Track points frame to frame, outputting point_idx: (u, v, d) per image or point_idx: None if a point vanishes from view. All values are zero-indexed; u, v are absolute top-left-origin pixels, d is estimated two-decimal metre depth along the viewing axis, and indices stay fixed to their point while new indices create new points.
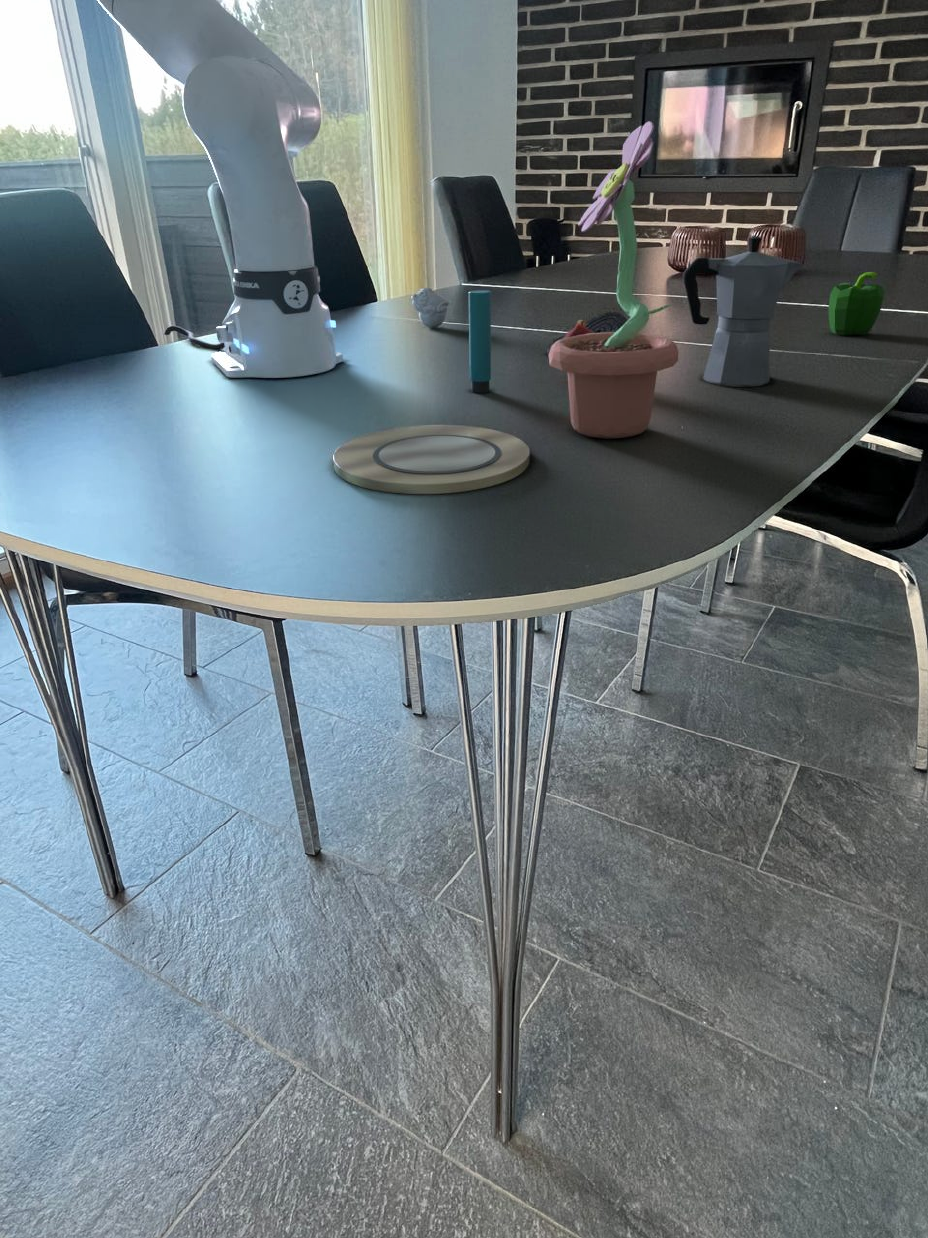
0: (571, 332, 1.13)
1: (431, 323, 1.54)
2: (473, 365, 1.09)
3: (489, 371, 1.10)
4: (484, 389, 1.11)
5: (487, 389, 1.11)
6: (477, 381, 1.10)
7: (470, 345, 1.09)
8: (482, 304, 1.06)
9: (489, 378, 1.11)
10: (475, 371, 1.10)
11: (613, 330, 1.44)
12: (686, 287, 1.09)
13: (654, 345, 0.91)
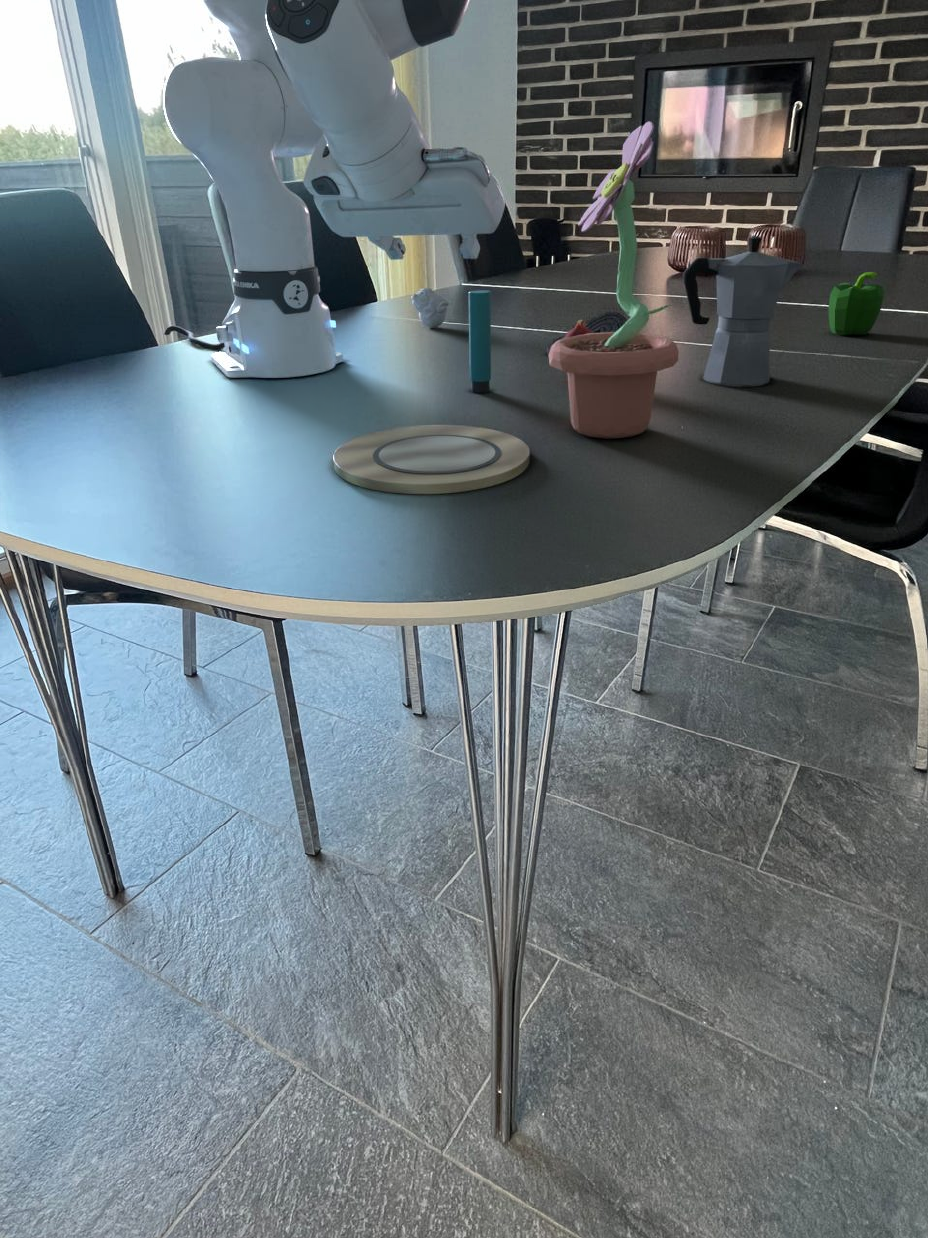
0: (571, 332, 1.13)
1: (431, 323, 1.54)
2: (473, 365, 1.09)
3: (489, 371, 1.10)
4: (484, 389, 1.11)
5: (487, 389, 1.11)
6: (477, 381, 1.10)
7: (470, 345, 1.09)
8: (482, 304, 1.06)
9: (489, 378, 1.11)
10: (475, 371, 1.10)
11: (613, 330, 1.44)
12: (687, 287, 1.09)
13: (654, 345, 0.91)
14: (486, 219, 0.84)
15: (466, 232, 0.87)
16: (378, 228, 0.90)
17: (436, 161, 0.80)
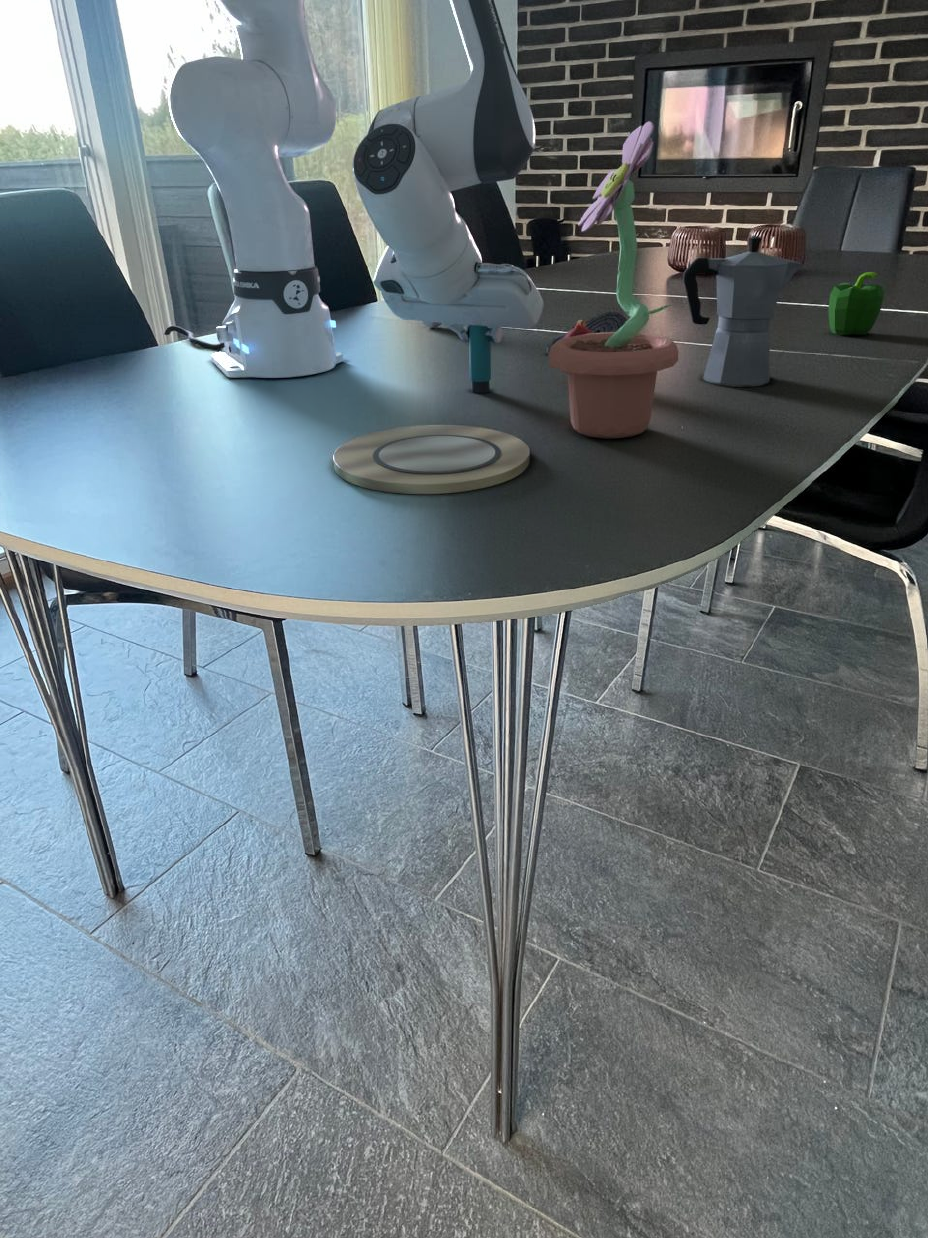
0: (571, 332, 1.13)
1: (431, 323, 1.54)
2: (473, 365, 1.09)
3: (489, 371, 1.10)
4: (484, 389, 1.11)
5: (487, 389, 1.11)
6: (477, 381, 1.10)
7: (470, 345, 1.09)
8: None
9: (489, 378, 1.11)
10: (475, 371, 1.10)
11: (613, 330, 1.44)
12: (687, 287, 1.09)
13: (654, 345, 0.91)
14: (526, 319, 0.99)
15: (509, 326, 1.02)
16: (434, 317, 1.05)
17: (487, 273, 0.95)
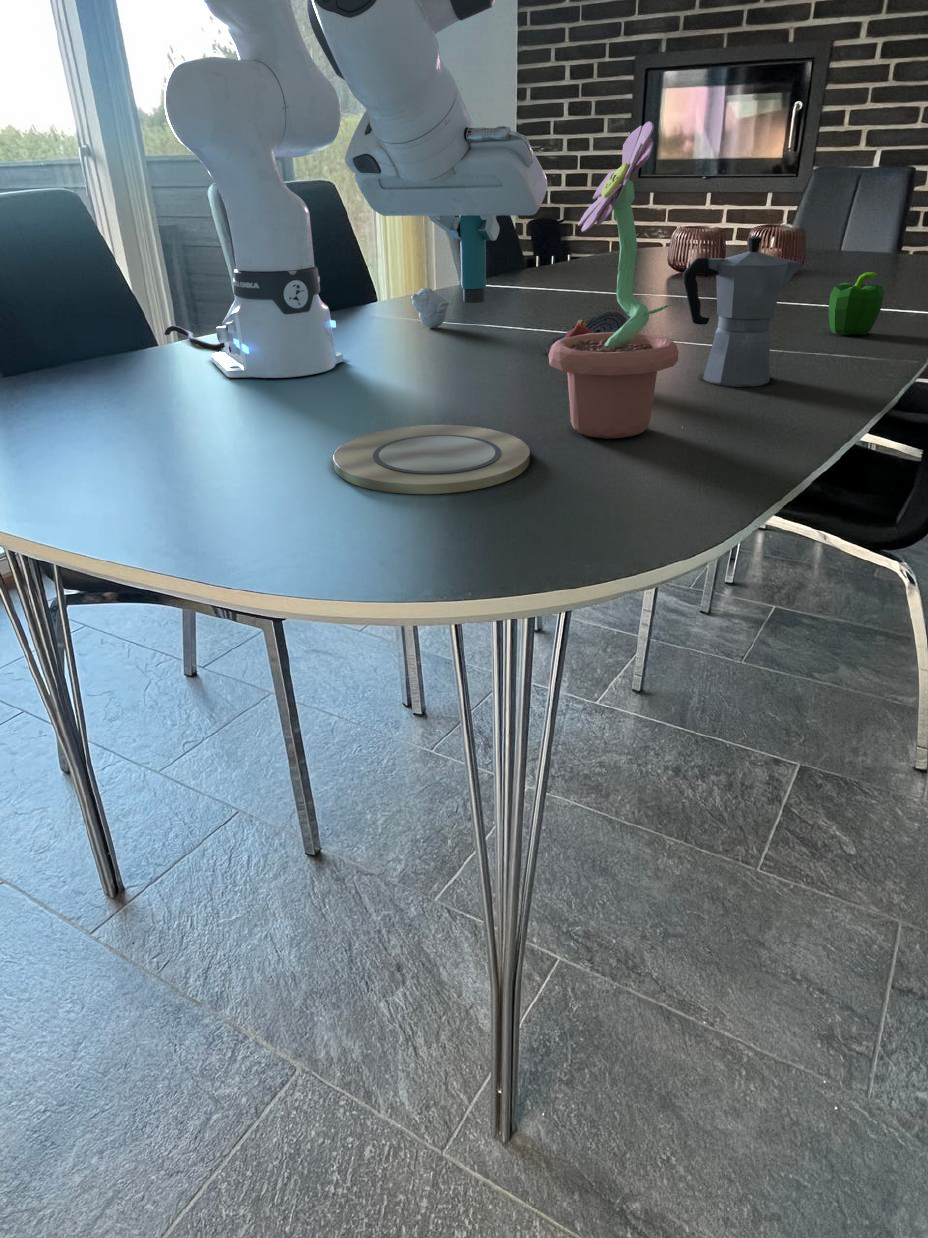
0: (571, 332, 1.13)
1: (431, 323, 1.54)
2: (465, 269, 0.93)
3: (484, 277, 0.94)
4: (478, 298, 0.95)
5: (482, 299, 0.95)
6: (470, 288, 0.94)
7: (461, 244, 0.93)
8: None
9: (484, 285, 0.95)
10: (468, 275, 0.94)
11: (613, 330, 1.44)
12: (687, 287, 1.09)
13: (654, 345, 0.91)
14: (527, 201, 0.83)
15: (507, 213, 0.85)
16: (418, 207, 0.89)
17: (479, 141, 0.79)
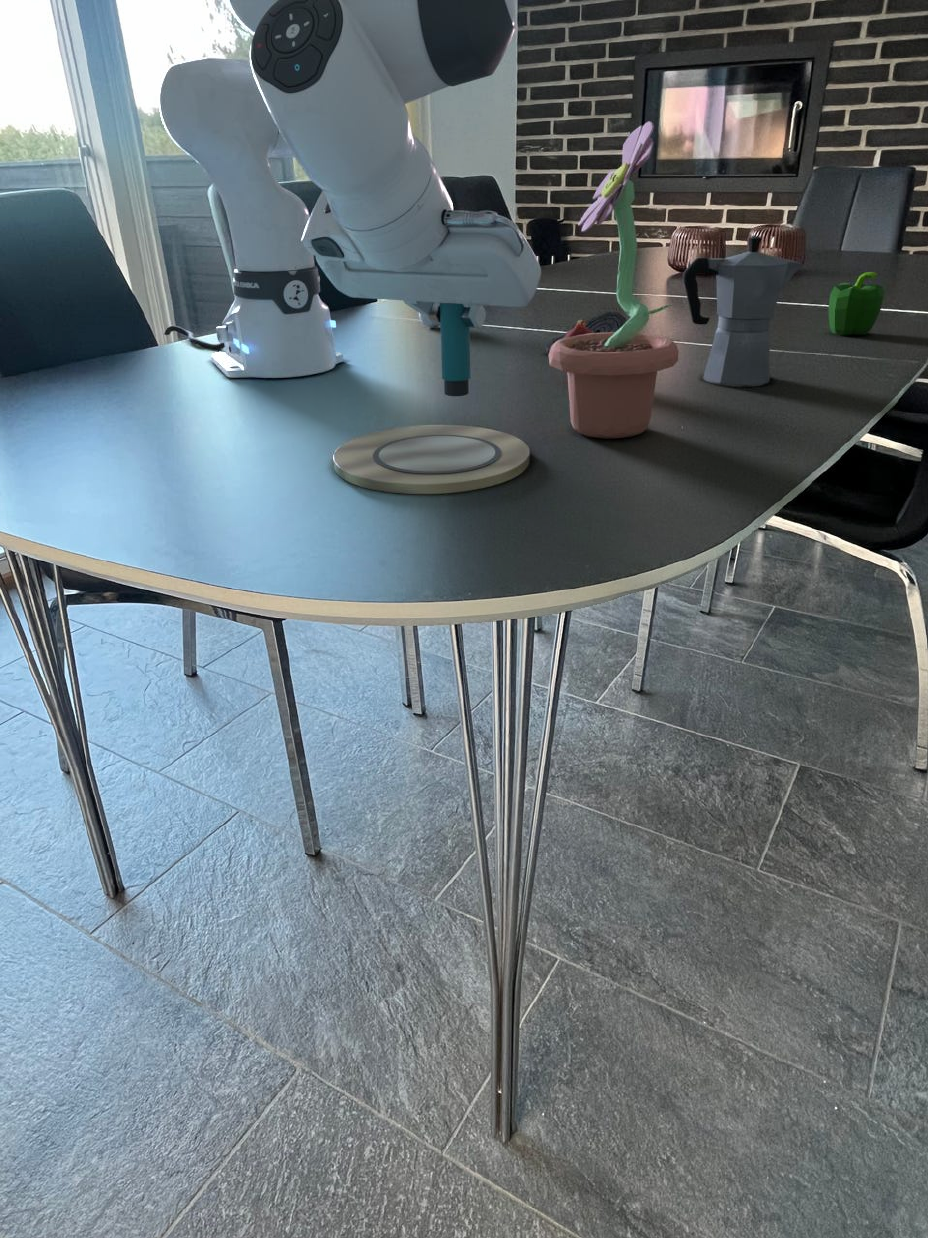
0: (571, 332, 1.13)
1: None
2: (446, 359, 0.81)
3: (468, 367, 0.81)
4: (461, 391, 0.82)
5: (465, 391, 0.82)
6: (452, 380, 0.81)
7: (441, 331, 0.80)
8: None
9: (468, 376, 0.82)
10: (449, 366, 0.81)
11: (612, 330, 1.44)
12: (687, 287, 1.09)
13: (654, 345, 0.91)
14: (517, 293, 0.70)
15: (494, 304, 0.73)
16: (391, 292, 0.76)
17: (460, 226, 0.66)
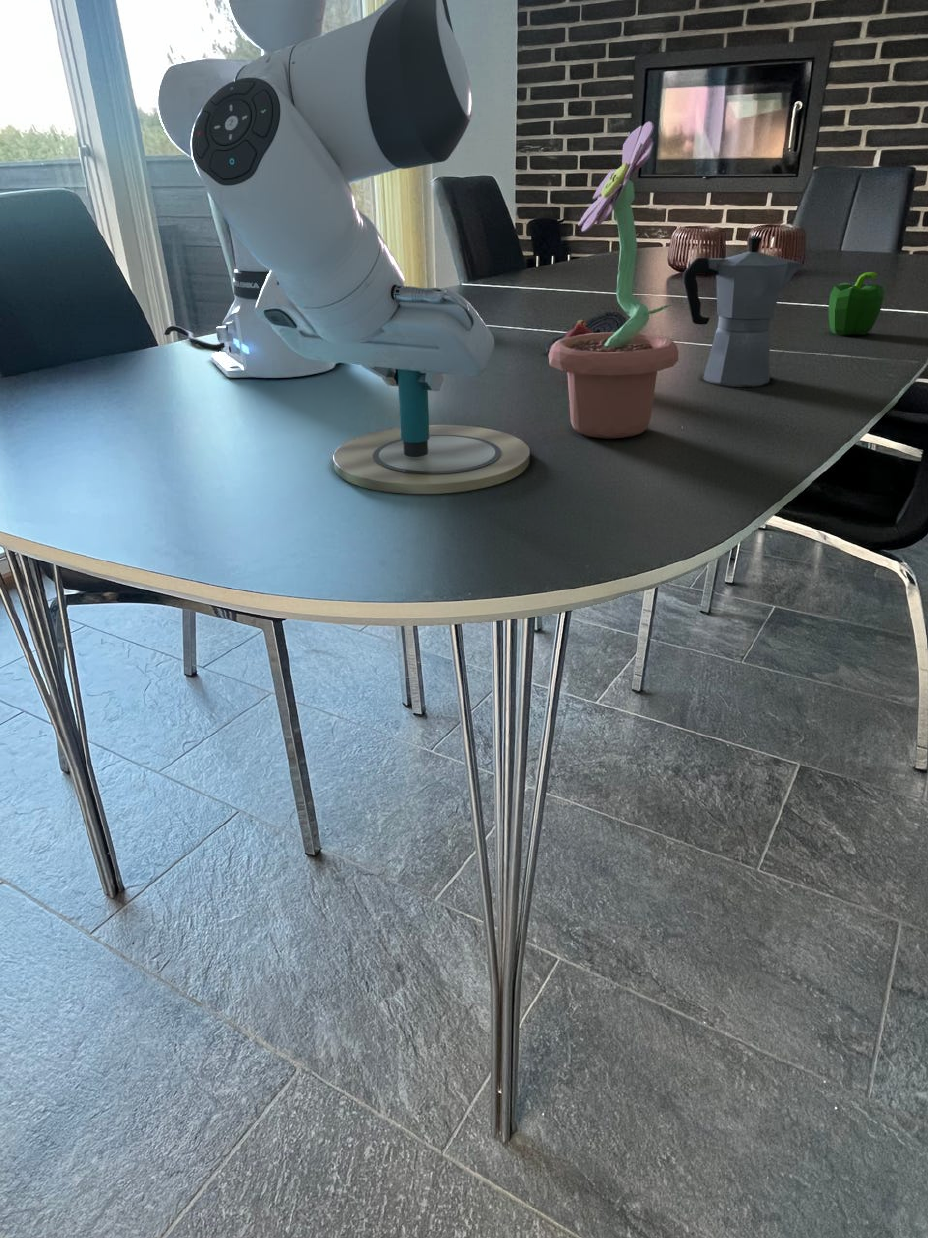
0: (571, 332, 1.13)
1: None
2: (404, 421, 0.80)
3: (427, 428, 0.81)
4: (420, 452, 0.82)
5: (424, 452, 0.82)
6: (410, 442, 0.81)
7: (399, 393, 0.80)
8: None
9: (427, 437, 0.82)
10: (407, 428, 0.81)
11: (612, 330, 1.44)
12: (687, 287, 1.09)
13: (654, 345, 0.91)
14: (469, 365, 0.70)
15: (447, 373, 0.73)
16: (347, 357, 0.76)
17: (409, 301, 0.66)
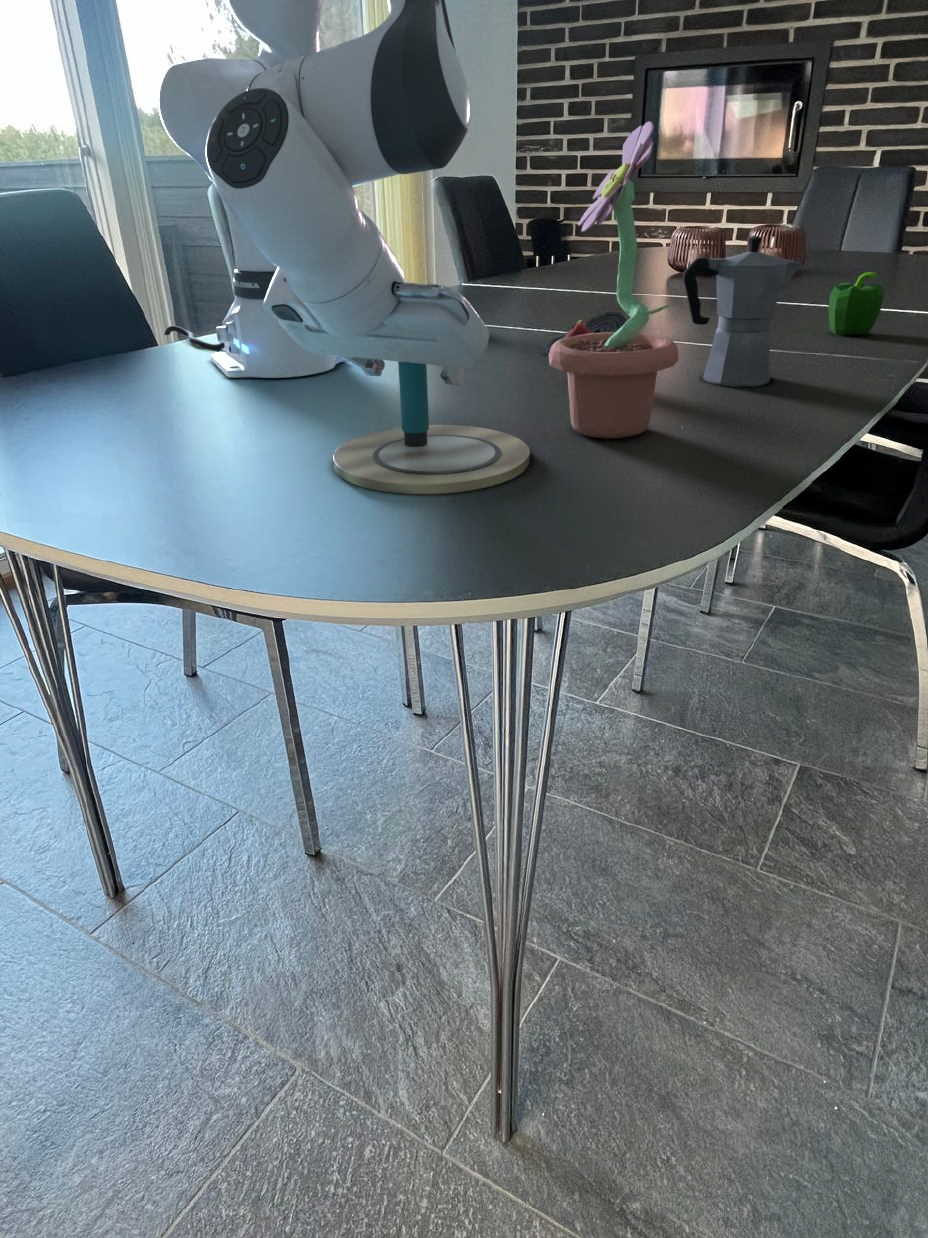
0: (571, 332, 1.13)
1: None
2: (405, 412, 0.85)
3: (426, 420, 0.85)
4: (420, 442, 0.86)
5: (424, 442, 0.87)
6: (410, 432, 0.86)
7: (400, 386, 0.84)
8: None
9: (426, 428, 0.86)
10: (407, 419, 0.85)
11: (612, 330, 1.44)
12: (687, 287, 1.09)
13: (654, 345, 0.91)
14: (465, 356, 0.74)
15: (445, 365, 0.77)
16: (350, 350, 0.80)
17: (409, 296, 0.71)
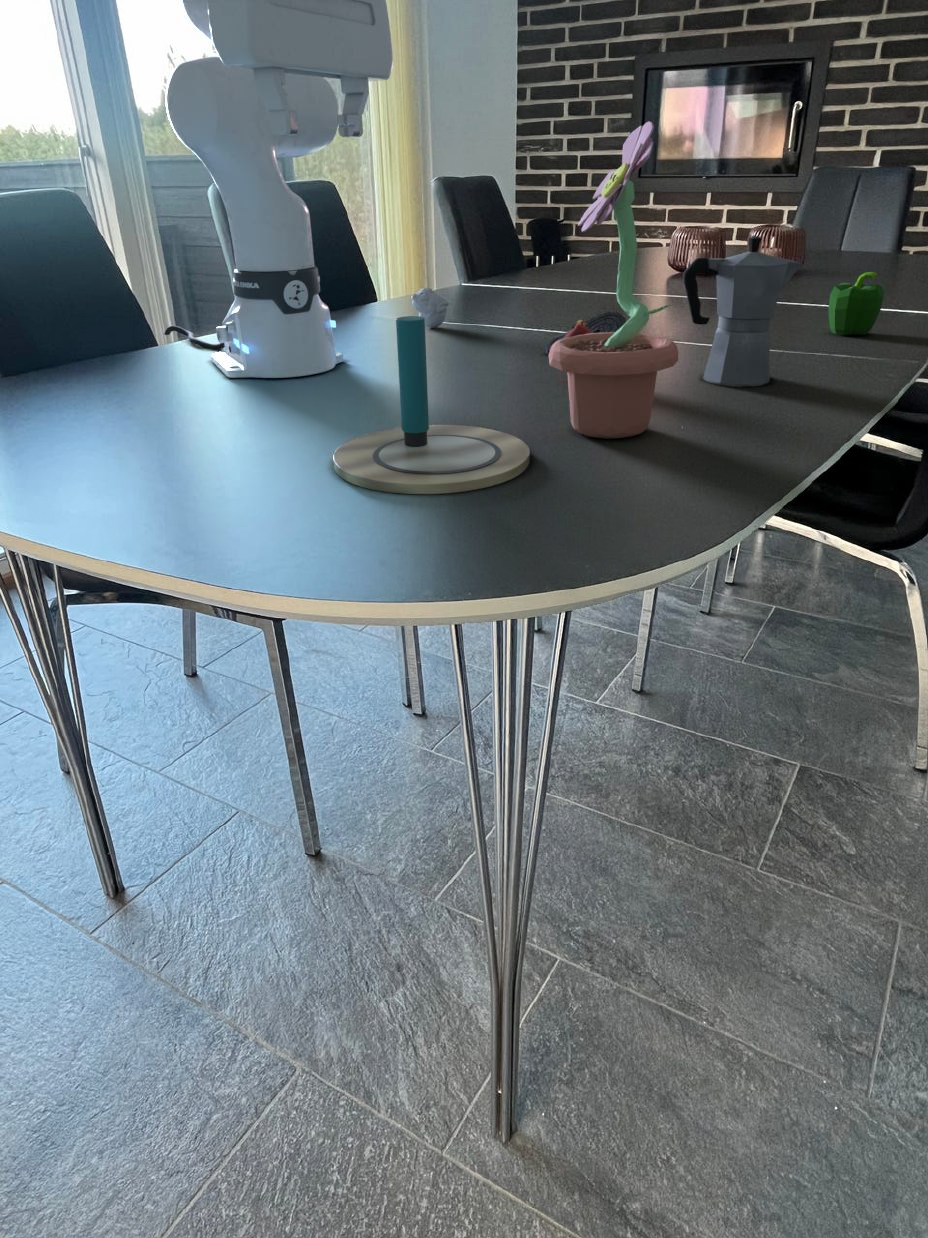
0: (571, 332, 1.13)
1: (431, 323, 1.54)
2: (405, 412, 0.85)
3: (426, 420, 0.85)
4: (420, 442, 0.86)
5: (424, 442, 0.87)
6: (410, 432, 0.86)
7: (400, 386, 0.84)
8: (413, 335, 0.81)
9: (426, 428, 0.86)
10: (407, 419, 0.85)
11: (612, 330, 1.44)
12: (687, 287, 1.09)
13: (654, 345, 0.91)
14: (390, 51, 0.77)
15: (373, 70, 0.76)
16: (301, 47, 0.67)
17: None
